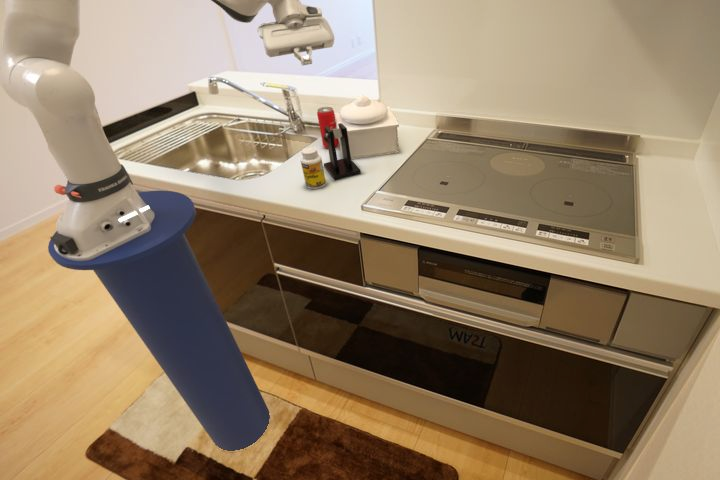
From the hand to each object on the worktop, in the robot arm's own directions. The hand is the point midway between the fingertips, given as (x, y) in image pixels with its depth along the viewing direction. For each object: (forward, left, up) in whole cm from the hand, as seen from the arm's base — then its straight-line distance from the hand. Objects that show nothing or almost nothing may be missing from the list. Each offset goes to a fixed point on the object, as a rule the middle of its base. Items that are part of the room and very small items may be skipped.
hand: (307, 63), depth 119 cm
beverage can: (+1, -3, -25) cm, 26 cm away
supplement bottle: (-22, -14, -25) cm, 36 cm away
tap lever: (-10, -13, -18) cm, 24 cm away
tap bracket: (-12, -16, -25) cm, 32 cm away
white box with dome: (+6, -14, -25) cm, 29 cm away
